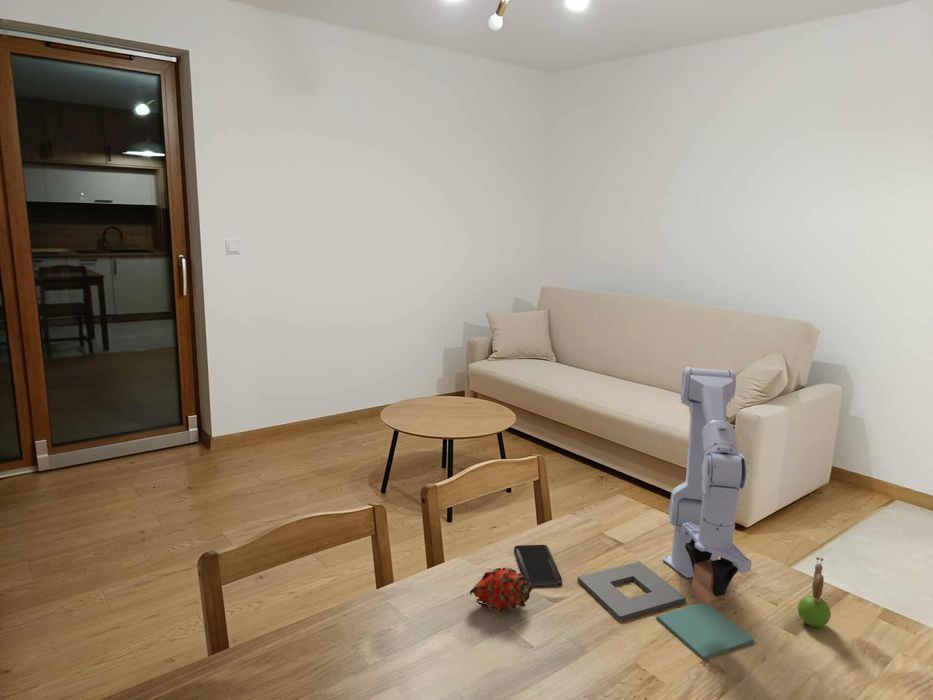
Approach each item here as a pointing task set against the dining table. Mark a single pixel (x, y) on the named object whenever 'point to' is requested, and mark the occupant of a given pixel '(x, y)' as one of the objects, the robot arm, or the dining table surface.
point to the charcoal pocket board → (626, 607)
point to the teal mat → (705, 630)
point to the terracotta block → (704, 583)
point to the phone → (537, 565)
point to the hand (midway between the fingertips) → (709, 587)
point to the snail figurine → (815, 602)
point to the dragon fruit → (502, 590)
